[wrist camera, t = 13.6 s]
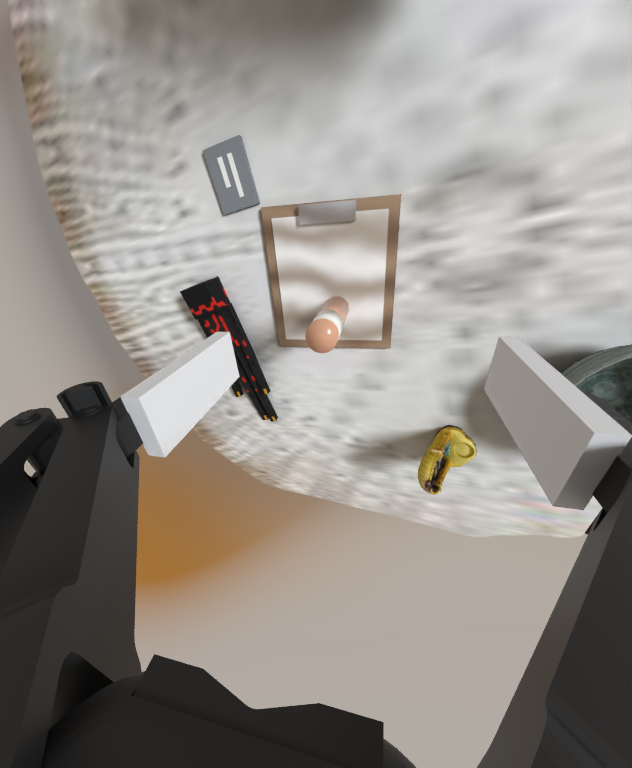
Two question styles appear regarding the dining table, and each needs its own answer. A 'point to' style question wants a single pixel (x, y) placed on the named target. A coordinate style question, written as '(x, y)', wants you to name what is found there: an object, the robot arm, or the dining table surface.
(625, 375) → the bowl
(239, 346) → the toy
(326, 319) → the pastel stick
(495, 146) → the dining table surface
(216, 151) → the grey striped tile
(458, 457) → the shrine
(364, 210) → the clipboard
